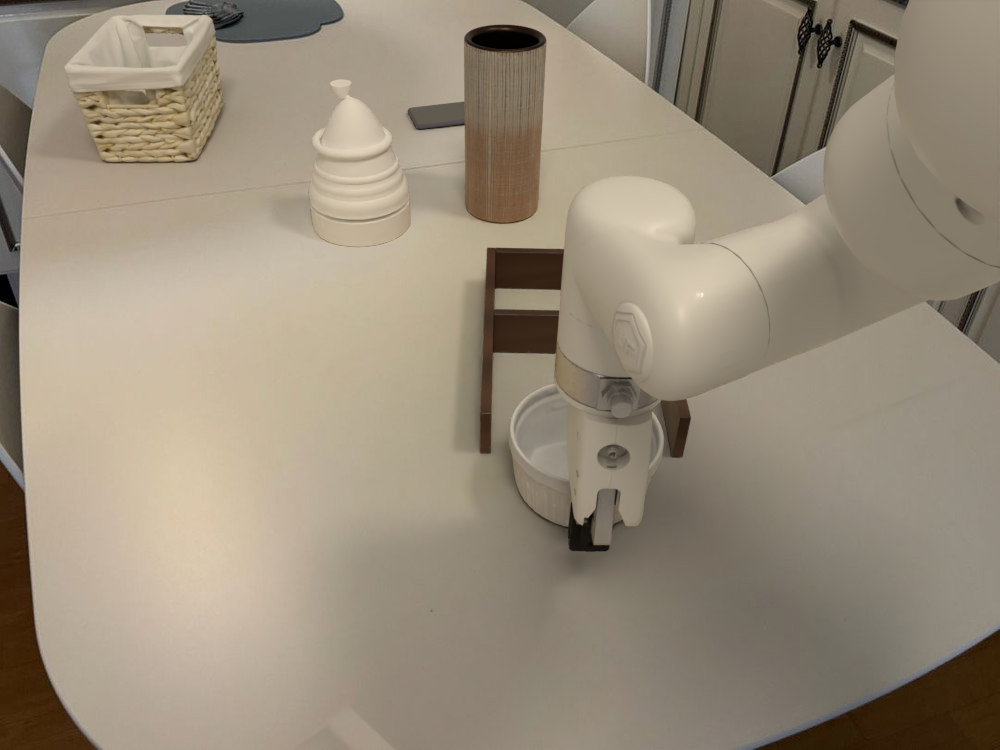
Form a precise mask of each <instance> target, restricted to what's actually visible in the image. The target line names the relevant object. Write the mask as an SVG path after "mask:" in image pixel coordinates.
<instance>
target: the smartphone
mask: <svg viewBox="0 0 1000 750" xmlns="http://www.w3.org/2000/svg"><path fill="white" fill-rule="evenodd" d="M407 114H408V115H409V117H410V119H411V120H412V123H413V124H414V127H415V128H416V129H418V130H426V129H434V128H442V127H450V126H459V125H465V108H464V101H457V102H446V103H440V104H439V103H438V104H430V105H422V106H412V107H409V108H408V109H407Z"/></svg>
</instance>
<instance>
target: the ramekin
mask: <svg viewBox="0 0 1000 750" xmlns="http://www.w3.org/2000/svg"><path fill="white" fill-rule="evenodd" d="M567 403H568V402H567V401H566V400H565V399H564V398H563V397H562V396H561V395H560V393H559V392H558V390H557V388H556V386H555V383H554V382H553V383H551V384H547V385H544V386H542V387H539V388H538V389H535V390H534V391H532V392H530V393H529V394H527V395H526V396H525V397H524V398H523V399H521V401H520V402H519V403H518V404H517V405H516V407H515V409H514V411H513V412H512V414H511V416H510V420H509V424H508V425H509V426H508V446H509V450H510V452H511V458H512V468H513V473H514V478H515V479H514V480H515V483H516V487H517V489H518V492H519V494H520V495H521V497H522V499H523V501H524V502H525V503H526V504H527V505H528V506H529V508H531V509H532V510H533V511H534V512H535V513H537V514H538V515H539V516H541V517H542V518H544V519H546V520H547V521H549V522H551V523H554V524H556V525H558V526H562V527H564V528H565V527H566V528H568V525H569V516H570V506H571V502H572V497H571V489H570V481H569V471H568V461H567V445H566V418H567ZM664 446H665V435H664V430H663V427H662V425H661V423H660V420H659V418H658V417H657V415H656V414H655V413H654V411H652V438H651V451H650V462H649V471H648V479H647V487H646V492H647V491H648V489H649V486H650V483H651V481H652V477H653V475H654V474H655V473H656V471H657V470H658V468H659V466H660V465H661V461H662V458H663V453H664V448H665V447H664ZM621 521H623V519H622V516H621V514H620V512H619V510H618V506H617V509H616V513H615V518H614V524H613V525H615V524H616V523H619V522H621Z"/></svg>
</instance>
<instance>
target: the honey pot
mask: <svg viewBox="0 0 1000 750" xmlns="http://www.w3.org/2000/svg"><path fill="white" fill-rule="evenodd" d="M329 87H330V90H331V93H332V94H333V96H334V97H335V98H336V99H338V100H341V101H340V102H339V103H337V105H336V106H335V108H334V109H333V110H332V112H331V113H330V116H329V118H328V120H327V122H326V124H325V126H323V127H322V128H320V129H319V130H316V132H315V133H314V134H313V135H312V137H311V141H310V144H311V146H312V148H313V150H314V151H315V152H316V153H317V156H316V157H315V159H314V161H313V170H312V173H311V180H310V181H309V185H308V195H309V197H308V198H309V199H308V200H309V207H310V215H311V222H312V228H313V230H314V233H315V234H316V235H317V236H318V237H319V238H320V239H323V240H324V241H325V242H328V243H330V244H335V245H337V246H342V247H352V248H361V247H362V248H364V247H365V248H366V247H372V246H378V245H382V244H386V243H389V242H392V241H394V240H396V239H397V238H399V237H401V236H403V234H405V233H406V232H407V231H408V229H409V227H411V204H410V203H411V202H410V191H409V190H410V189H409V188H410V187H409V186H410V185H409V182H408V181H409V180H408V179H407V178H406V176H405V174H404V171H403V168H402V166H401V164H400V159H399V157H398V155H397V154H396V152H395V150H394V148H393V146H392V144H393V135H392V133H391V131H390V130H389V129H387V128H386V127H384V126H383V125H381V122H380V121H379V119H378V118H377V116H376V115H375V114H374V112H373V111H372V109H370V107H369V106H368V105H367V104H366V103H364V102H363V101H362V100H360V99H358V98H356V97H352V96H351V92H352V81H351V80H348V79H344V78H343V79H342V78H341V79H334V80H332V81H330V82H329Z"/></svg>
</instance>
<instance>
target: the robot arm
mask: <svg viewBox="0 0 1000 750" xmlns="http://www.w3.org/2000/svg"><path fill="white" fill-rule="evenodd" d="M893 61H894V62H893V65H894V66H893V67H894V68H893V69H894V73H893V74H892V75H891V76H889V77H888V78H887V79H885V80H884V81H883V82H881V83H880V84H879V85H876V87H875V88H873V89H872V90H871V91H869V92H867V93H866V94H865V95H864V96H863V97H861V98H860V99H859V100H857V101H856V102H855V103H854V104H852V105H851V106H850V107H849V108H848V109H847V110H846V111H845V113H843V115H842V116H841V117H840V119H839V120H838V122H837V123H836V124H835V125H834V126H835V127H834V128H833V129H832V132H831V134H830V136H829V138H828V140H827V142H826V143H827V144H826V147H825V151H824V156H823V164H822V165H823V166H822V167H823V170H822V178H823V179H822V183H823V189H824V193H823V194H821V195H819V196H818V197H816V198H815V199H813V200H811V201H810V202H808V203H807V204H806V205H804V206H802V207H801V208H799V209H797V210H795V211H794V212H791V213H789V214H788V215H787V214H786V215H785V216H784V217H780V218H778V219H776V220H773V221H770V222H765V223H763V224H759V225H756V226H753V227H748V228H745V229H742V230H738V231H735V232H732V233H729V234H726V235H721V236H719V237H716V238H713V239H709V240H706V241H703V242H700V243H695V239H696V233H697V218H696V217H697V216H696V212H695V209H694V207H693V205H692V203H691V201H690V199H689V198H688V197H687V196H686V195H685V194H684V193H683V192H681V190H679V189H677V188H676V187H674V186H673V185H671V184H669V183H667V182H665V181H662V180H658V179H655V178H651V177H646V176H640V175H627V174H626V175H612V176H607V177H601V178H599V179H597V180H594V181H592V182H590V183H587V185H585V186H583V187H582V188H581V189H580V190H579V191H578V192H577V193H575V195H574V196H573V199H571V202H570V204H569V207H568V209H567V216H566V222H565V233H564V246H563V249H564V257H563V269H562V282H561V289H560V296H559V308H558V310H559V321H558V336H557V344H556V353H555V356H554V357H555V359H554V371H553V372H554V373H553V384H554V383H555V386H556V388H557V390H558V392H559V393H560V395H561V396H562V397H563V398H564V399H565V400H566V401H567V402H568V403H567V418H566V445H567V461H568V471H569V481H570V489H571V497H572V502H571V506H570V516H569V525H568V527H567V539H568V550H569V551H571V552H586V553H596V552H599V553H600V552H604V553H605V552H608V551H610V548H611V545H612V538H613V528H614V525H615V524H614V518H615V513H616V509H617V506H618V510H619V512H620V514H621V516H622V521H623V523H624V525H625V527H637V526H638V525H639V524H640V523H641V522H642V520H643V517H644V510H645V503H646V495H647V491H646V487H647V479H648V471H649V462H650V451H651V438H652V412H653V409H655V408H656V407H657V406H658V405H659V404H661V400H666V401H677V400H684V399H687V400H688V399H691V398H694V397H697V396H700V395H702V394H704V393H707V392H711V390H715V389H718V388H720V387H722V386H724V385H725V386H726V385H728V384H730V383H732V382H735V381H737V380H740V379H742V378H746V377H747V376H749V375H751V374H753V373H756V372H759V371H761V370H763V369H766V368H768V367H771V366H773V365H776V364H779V363H781V362H784V361H787V360H788V359H792V358H793V357H796V356H799V355H802V354H804V353H805V354H806V353H807V352H810V351H813V350H815V349H817V348H818V349H819V348H820V347H822V346H826V345H828V344H829V343H833V342H835V341H837V340H839V339H842V338H843V337H846V336H849V335H851V334H853V333H855V332H858V331H860V330H862V329H864V328H867V327H869V326H871V325H874V324H876V323H878V322H880V321H882V320H885V319H887V318H890V317H892V316H895V315H897V314H899V313H901V312H904V311H906V310H909V309H911V308H913V307H916V306H918V305H920V304H923V303H925V302H928V301H935V302H936V301H937V302H943V301H944V302H948V301H954V300H957V299H961V298H964V297H966V296H968V295H972V294H974V293H976V292H979V291H981V290H983V289H986V288H988V287H990V286H994V285H995V284H997V283H999V282H1000V0H908V3H907V5H906V7H905V10H904V12H903V14H902V17H901V20H900V25H899V31H898V35H897V41H896V46H895V51H894V57H893Z"/></svg>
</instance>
